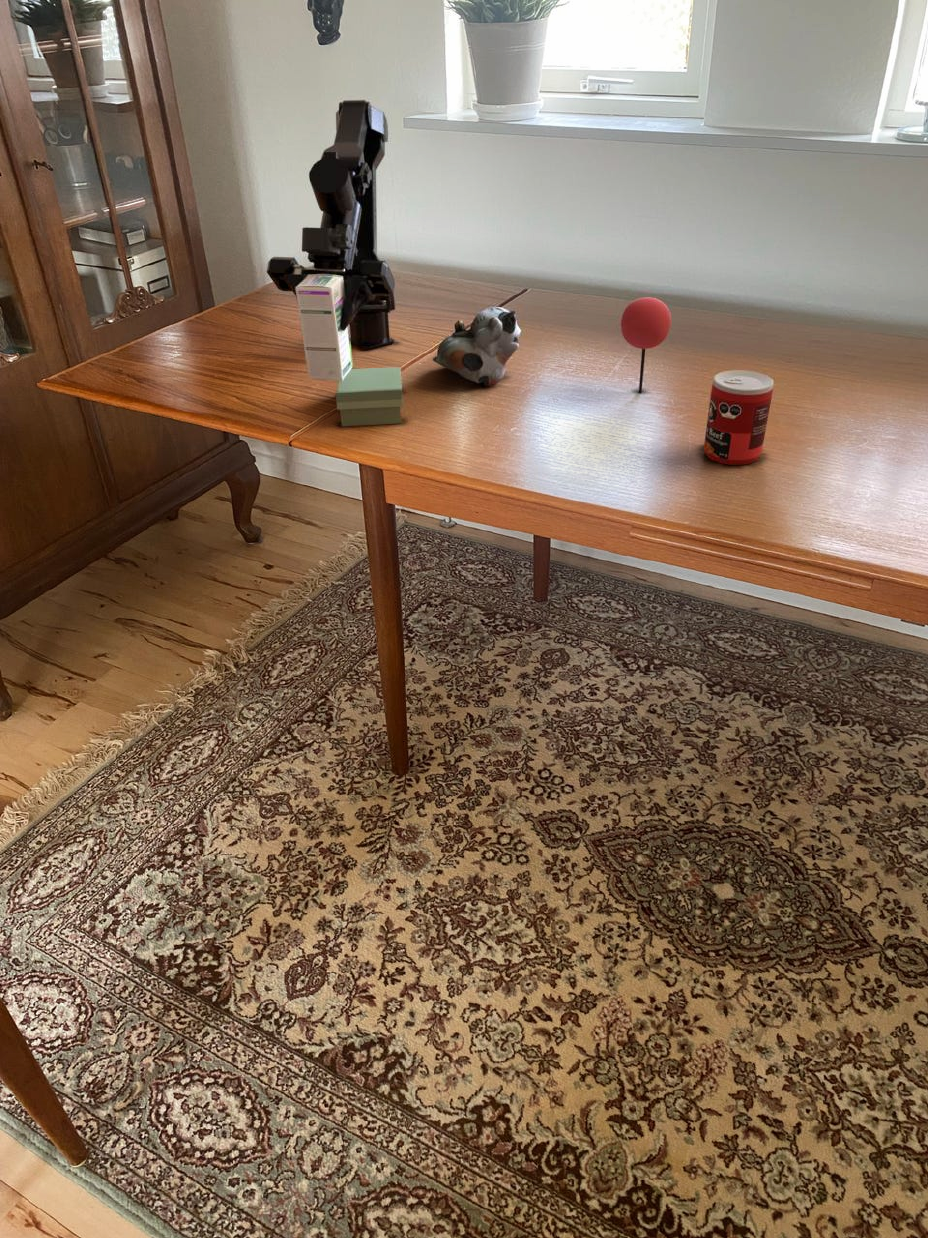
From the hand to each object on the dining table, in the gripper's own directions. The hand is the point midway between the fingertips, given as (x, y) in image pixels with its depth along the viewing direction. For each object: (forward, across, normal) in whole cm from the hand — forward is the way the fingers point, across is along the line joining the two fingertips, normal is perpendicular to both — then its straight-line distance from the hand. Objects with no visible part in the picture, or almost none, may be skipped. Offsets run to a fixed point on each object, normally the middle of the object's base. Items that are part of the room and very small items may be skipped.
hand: (322, 328), depth 139 cm
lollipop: (-2, +47, +21) cm, 52 cm away
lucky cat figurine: (-4, +20, +23) cm, 31 cm away
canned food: (+13, +62, +6) cm, 63 cm away
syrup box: (+4, 0, +6) cm, 8 cm away
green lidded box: (+8, +6, +11) cm, 15 cm away
